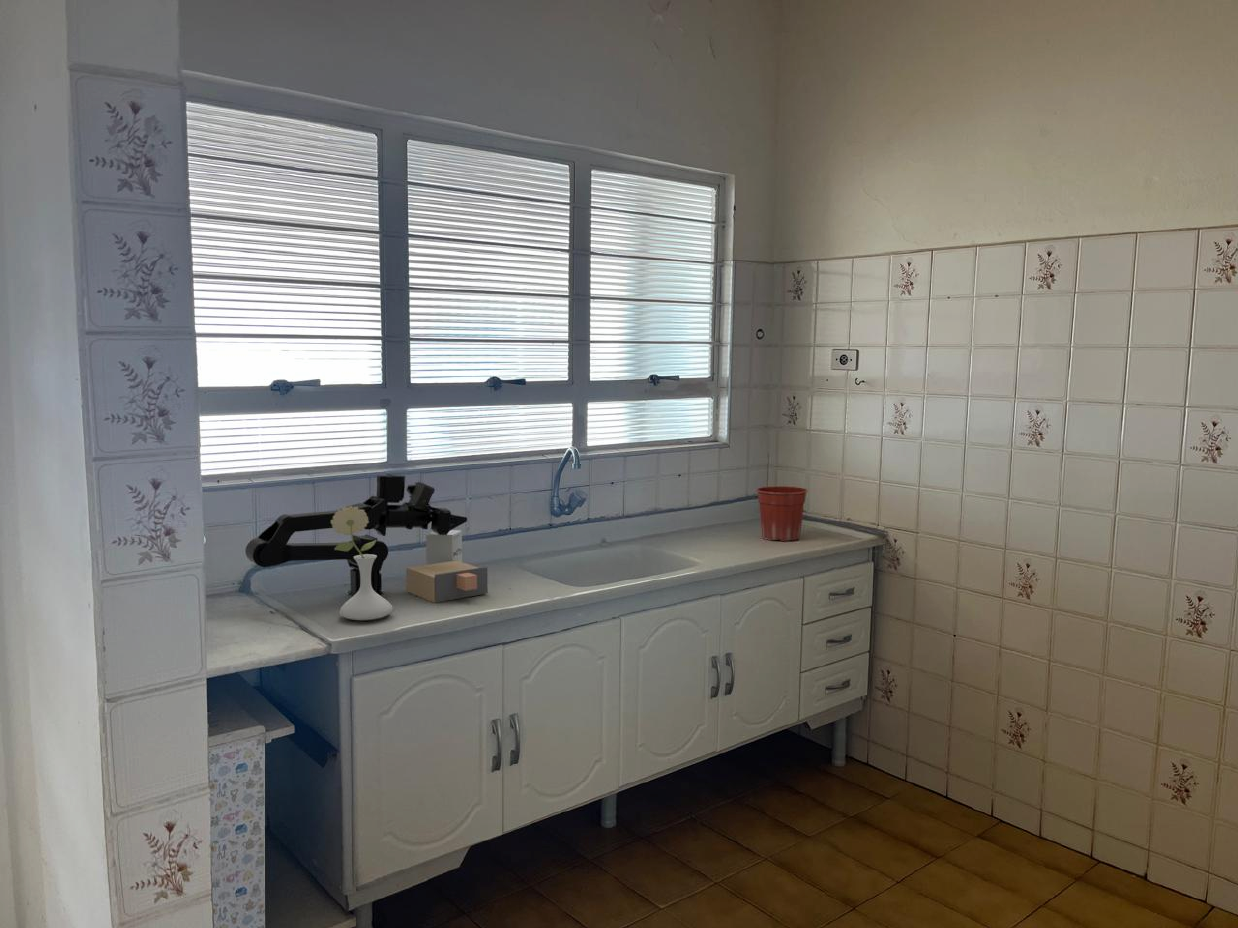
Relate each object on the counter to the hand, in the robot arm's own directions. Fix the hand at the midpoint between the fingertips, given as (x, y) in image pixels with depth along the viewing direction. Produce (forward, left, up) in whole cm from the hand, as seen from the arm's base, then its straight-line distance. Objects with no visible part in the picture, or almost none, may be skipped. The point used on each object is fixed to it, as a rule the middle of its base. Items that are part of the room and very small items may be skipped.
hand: (458, 516), depth 248 cm
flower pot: (+113, -12, -17) cm, 115 cm away
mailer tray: (-9, -12, -17) cm, 22 cm away
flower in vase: (-35, -19, -17) cm, 43 cm away
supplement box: (-2, +3, -17) cm, 18 cm away
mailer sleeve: (-9, -10, -17) cm, 22 cm away
